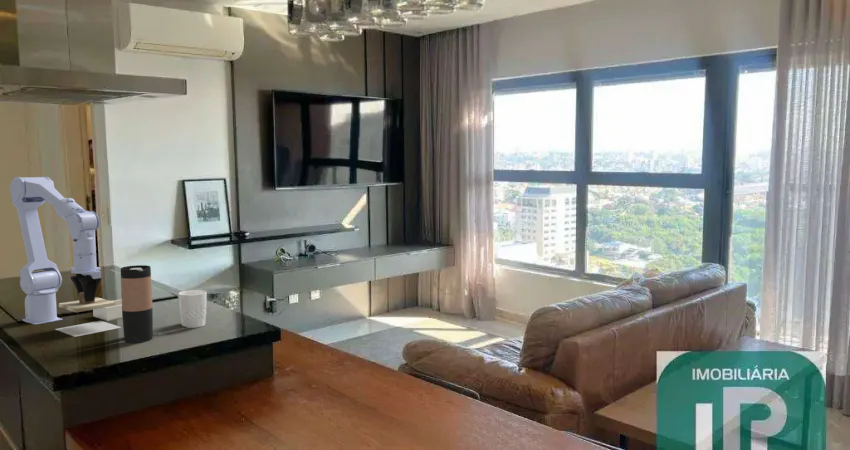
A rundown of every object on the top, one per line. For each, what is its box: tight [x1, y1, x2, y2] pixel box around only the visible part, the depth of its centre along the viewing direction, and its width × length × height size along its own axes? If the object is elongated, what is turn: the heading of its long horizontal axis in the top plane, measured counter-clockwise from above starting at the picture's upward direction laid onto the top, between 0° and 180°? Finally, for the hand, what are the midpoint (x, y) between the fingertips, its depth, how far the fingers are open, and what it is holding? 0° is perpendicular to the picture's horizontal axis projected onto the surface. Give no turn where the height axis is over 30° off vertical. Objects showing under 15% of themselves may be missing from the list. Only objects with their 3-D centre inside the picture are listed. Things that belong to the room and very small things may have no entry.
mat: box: [54, 320, 123, 338], centre depth 185 cm, size 13×13×1 cm
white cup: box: [178, 289, 208, 329], centre depth 190 cm, size 8×8×10 cm
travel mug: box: [120, 264, 154, 344], centre depth 174 cm, size 8×8×20 cm
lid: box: [58, 292, 116, 313], centre depth 184 cm, size 11×11×4 cm
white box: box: [92, 298, 123, 322], centre depth 199 cm, size 9×9×4 cm
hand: (87, 300), depth 184 cm, fingers closed on lid, 3 cm apart
